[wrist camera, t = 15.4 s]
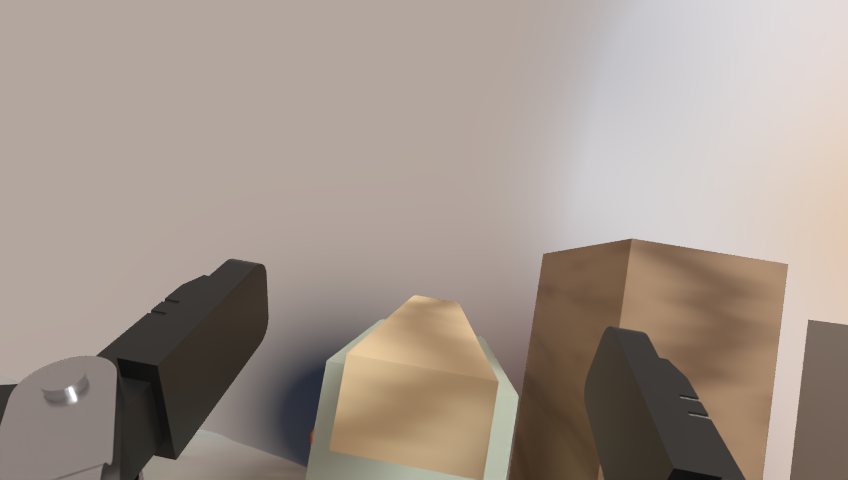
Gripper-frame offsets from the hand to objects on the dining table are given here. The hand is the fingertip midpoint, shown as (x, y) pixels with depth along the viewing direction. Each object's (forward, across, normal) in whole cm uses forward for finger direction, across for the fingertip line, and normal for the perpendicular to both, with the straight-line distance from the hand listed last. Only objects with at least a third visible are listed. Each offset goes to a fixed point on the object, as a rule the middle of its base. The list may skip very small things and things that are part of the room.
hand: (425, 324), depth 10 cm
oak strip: (+11, 0, +11) cm, 15 cm away
